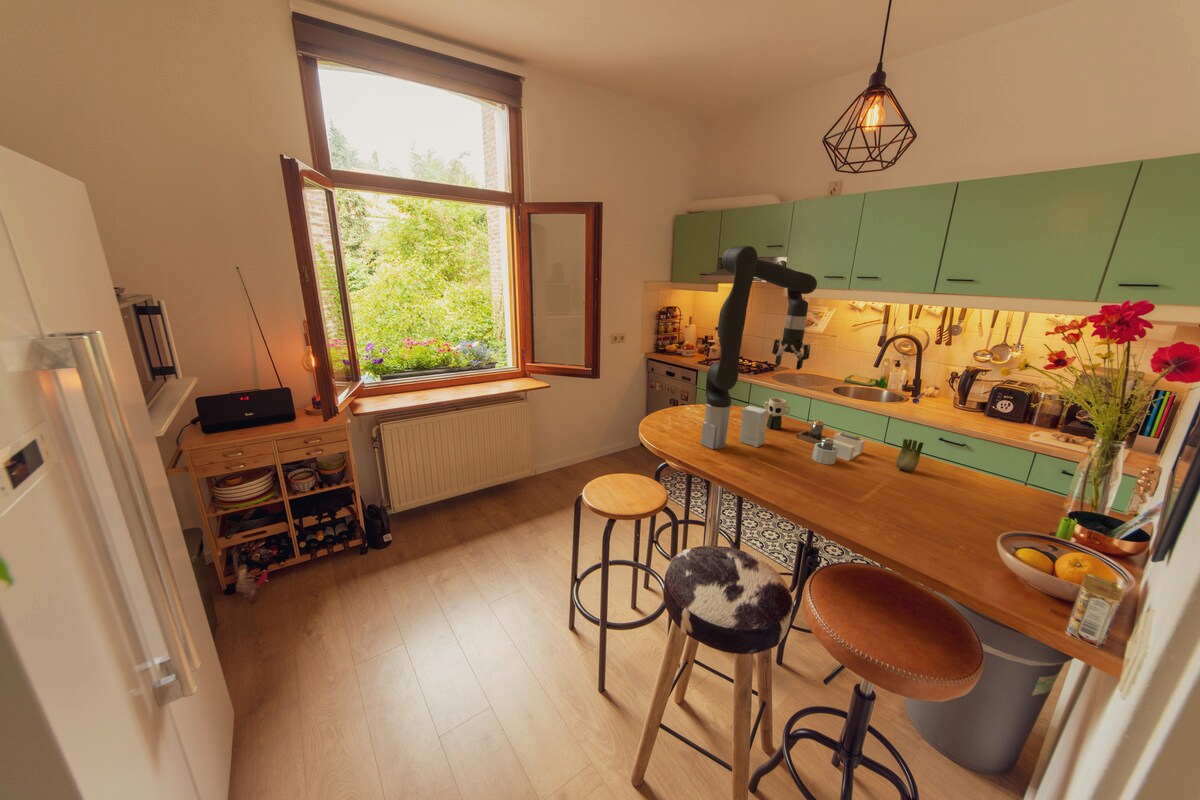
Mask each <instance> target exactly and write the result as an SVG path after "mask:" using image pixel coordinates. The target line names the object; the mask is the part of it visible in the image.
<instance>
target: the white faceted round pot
mask: <svg viewBox="0 0 1200 800" xmlns="http://www.w3.org/2000/svg"><path fill="white" fill-rule="evenodd" d="M820 444H821V443H816V444H814V446H813V447H814V448H813V451H812V455H811V456H812V457H811V458H812V460H813V461H815V462H816V463H820V464H823V465H834V464H835V463H836V460H837V458H838V457H837V452H838V448H837V447H835V446H834V445H833V447H832V450H830V451H829V450H824V449H821V448H820Z"/></svg>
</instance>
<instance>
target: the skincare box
mask: <svg viewBox="0 0 1200 800" xmlns="http://www.w3.org/2000/svg"><path fill="white" fill-rule="evenodd" d="M767 421H768V409H765V408H762V407H757V406H753V405H748V406H746V407H743V408H742V415H741V423H740V432H739V433H740V434H739V443H743V444H745V445H749V446H751V447H755V448H759V447H761V446H763V445H764V444H765V439H766V431H767V430H766V429H767V426H766V425H767Z"/></svg>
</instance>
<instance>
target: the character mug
mask: <svg viewBox="0 0 1200 800" xmlns="http://www.w3.org/2000/svg"><path fill="white" fill-rule="evenodd" d="M787 402H788V401H787V400H786V399H783V398H781V397H780V398H779V397H770V398H769V400H768V401H764V406H763V409H766V410H768V412H767V414H769V415H768V417H767V422H766V428H769V429H771V427H772V429H773V430H780V429H781V428H782V424H783V423H782V422H783V421H782V419H783V418H782V416H784V415H785V414H790V412H791V411H790V410H791V406H788V405H787ZM767 405H768V406H767Z"/></svg>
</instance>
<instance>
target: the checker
mask: <svg viewBox="0 0 1200 800" xmlns="http://www.w3.org/2000/svg"><path fill="white" fill-rule="evenodd" d="M831 438H832V437H829V439H831ZM832 440H833V441H834V443H833V445H834V446H835V447H837V448H838V452H837V457H836V458H838V459H841V460H845V461H847V462H848V461H851V460H852V459H855V458H857V457H858V456H859V455H861V454H862V453H863V450H864V445H865V440H864V439H860V436H857V435H853V434H850V433H848V432H844V431H842V432H836V433H834V435H833V438H832Z"/></svg>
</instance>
